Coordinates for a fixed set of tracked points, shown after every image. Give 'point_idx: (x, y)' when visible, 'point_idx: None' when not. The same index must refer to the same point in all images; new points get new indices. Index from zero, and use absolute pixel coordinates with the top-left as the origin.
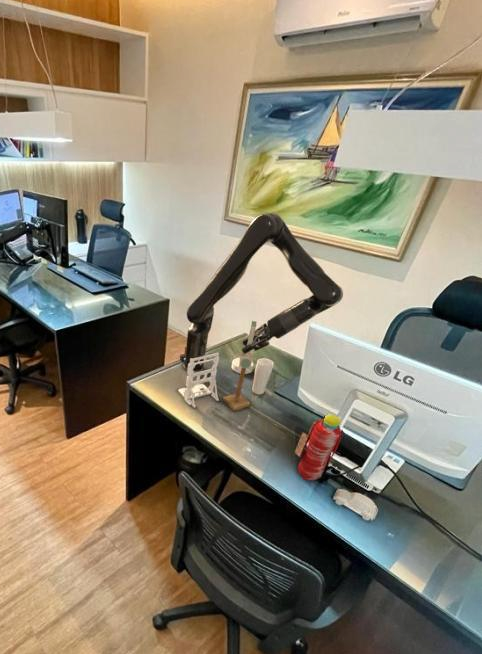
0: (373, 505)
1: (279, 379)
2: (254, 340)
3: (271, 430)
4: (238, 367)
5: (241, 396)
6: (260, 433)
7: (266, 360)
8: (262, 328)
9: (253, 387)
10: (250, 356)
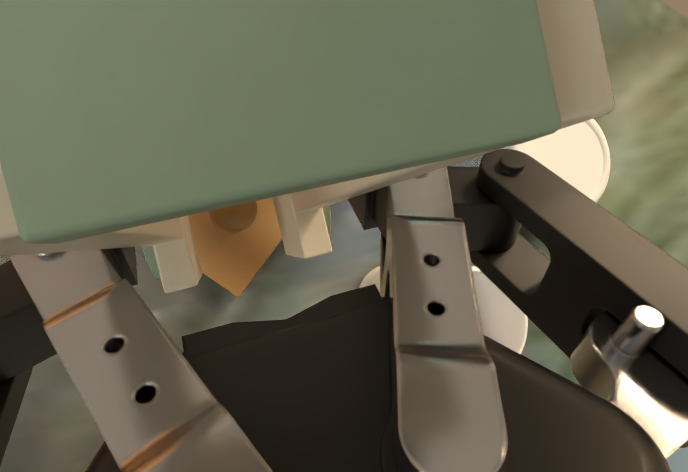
0: None
1: (540, 360)
2: (110, 284)
3: (85, 458)
4: (511, 148)
5: (275, 237)
6: (25, 418)
7: (516, 319)
8: (465, 397)
9: (374, 275)
10: (293, 238)
